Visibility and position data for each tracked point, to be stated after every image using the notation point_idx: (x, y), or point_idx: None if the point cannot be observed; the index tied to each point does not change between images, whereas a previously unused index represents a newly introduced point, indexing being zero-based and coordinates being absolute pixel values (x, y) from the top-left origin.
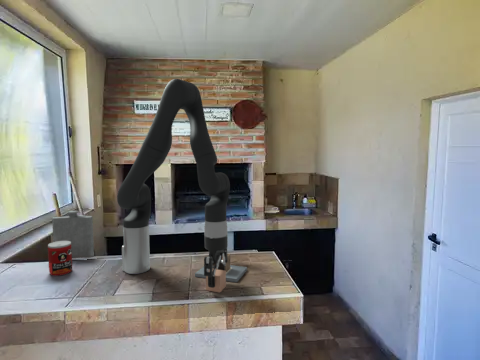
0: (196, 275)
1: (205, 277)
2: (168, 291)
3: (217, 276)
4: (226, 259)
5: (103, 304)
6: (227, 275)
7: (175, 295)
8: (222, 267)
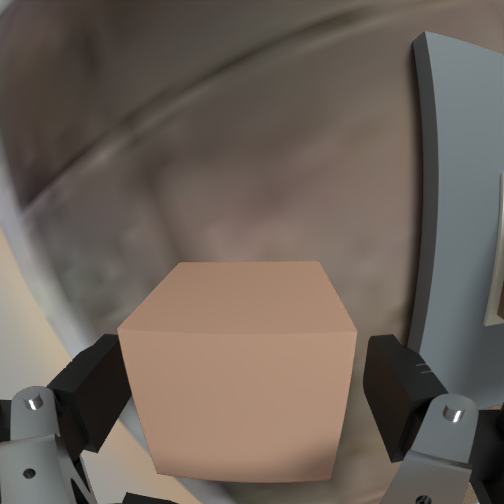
0: (419, 50)
1: (425, 142)
2: (75, 11)
3: (153, 449)
4: (482, 497)
5: None
6: (459, 345)
7: (35, 92)
8: (393, 445)
